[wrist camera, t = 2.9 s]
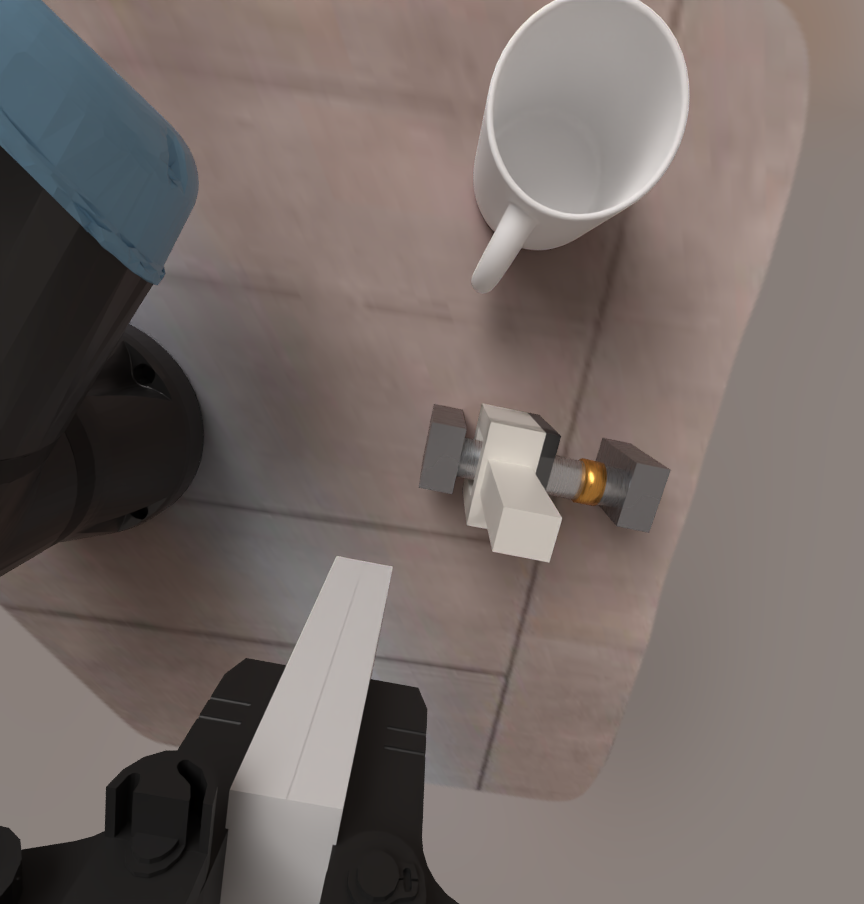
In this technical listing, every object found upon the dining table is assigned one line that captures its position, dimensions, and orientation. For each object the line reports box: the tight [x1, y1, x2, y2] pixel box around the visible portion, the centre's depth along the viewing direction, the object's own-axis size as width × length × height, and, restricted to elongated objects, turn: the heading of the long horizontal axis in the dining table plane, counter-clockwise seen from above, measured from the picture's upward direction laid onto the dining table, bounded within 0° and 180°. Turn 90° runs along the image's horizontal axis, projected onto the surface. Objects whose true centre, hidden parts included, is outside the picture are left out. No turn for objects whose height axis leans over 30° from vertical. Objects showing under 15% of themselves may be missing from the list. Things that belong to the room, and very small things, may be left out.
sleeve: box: [462, 403, 562, 562], centre depth 26 cm, size 4×6×13 cm, turn 169°
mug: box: [471, 0, 689, 294], centre depth 25 cm, size 12×8×10 cm
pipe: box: [419, 404, 670, 532], centre depth 31 cm, size 14×4×6 cm, turn 79°
